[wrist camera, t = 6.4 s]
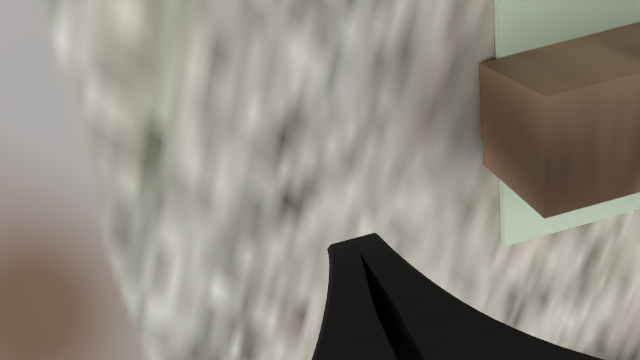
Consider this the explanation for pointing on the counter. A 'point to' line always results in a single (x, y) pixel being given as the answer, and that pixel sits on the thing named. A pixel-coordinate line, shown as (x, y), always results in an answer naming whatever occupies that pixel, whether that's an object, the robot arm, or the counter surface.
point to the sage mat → (538, 31)
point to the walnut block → (565, 120)
